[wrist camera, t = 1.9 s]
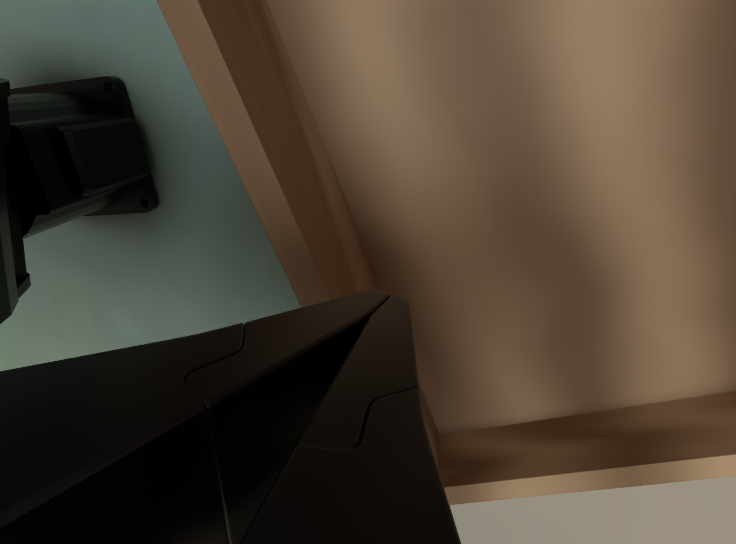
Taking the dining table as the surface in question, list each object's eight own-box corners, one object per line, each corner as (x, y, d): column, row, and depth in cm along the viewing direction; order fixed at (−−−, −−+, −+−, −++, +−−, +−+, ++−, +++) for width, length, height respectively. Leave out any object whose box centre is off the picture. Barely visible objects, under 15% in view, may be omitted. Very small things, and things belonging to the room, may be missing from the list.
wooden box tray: (431, 399, 25) (417, 552, 17) (254, -49, 18) (88, -146, 10) (765, 340, 21) (962, 515, 12) (712, -310, 13) (1117, -919, 5)
